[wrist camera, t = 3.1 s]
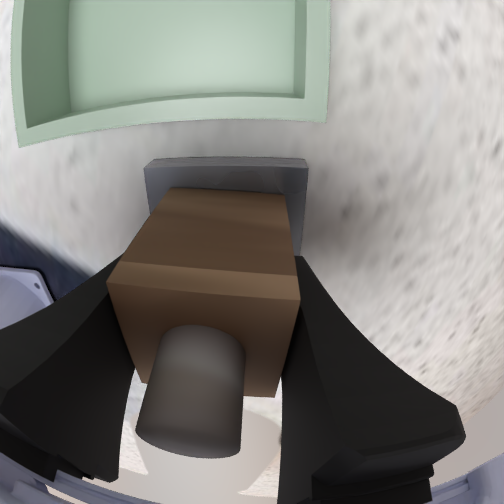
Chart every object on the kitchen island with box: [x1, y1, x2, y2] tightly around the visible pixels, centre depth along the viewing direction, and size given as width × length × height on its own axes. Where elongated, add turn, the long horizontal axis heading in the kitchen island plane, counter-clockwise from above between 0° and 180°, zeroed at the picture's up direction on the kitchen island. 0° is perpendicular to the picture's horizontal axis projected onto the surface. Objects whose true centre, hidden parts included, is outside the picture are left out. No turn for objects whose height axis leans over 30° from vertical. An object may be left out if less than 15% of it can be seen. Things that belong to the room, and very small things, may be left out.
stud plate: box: [144, 157, 308, 256], centre depth 11 cm, size 6×6×5 cm
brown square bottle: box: [106, 188, 300, 458], centre depth 8 cm, size 4×4×8 cm
